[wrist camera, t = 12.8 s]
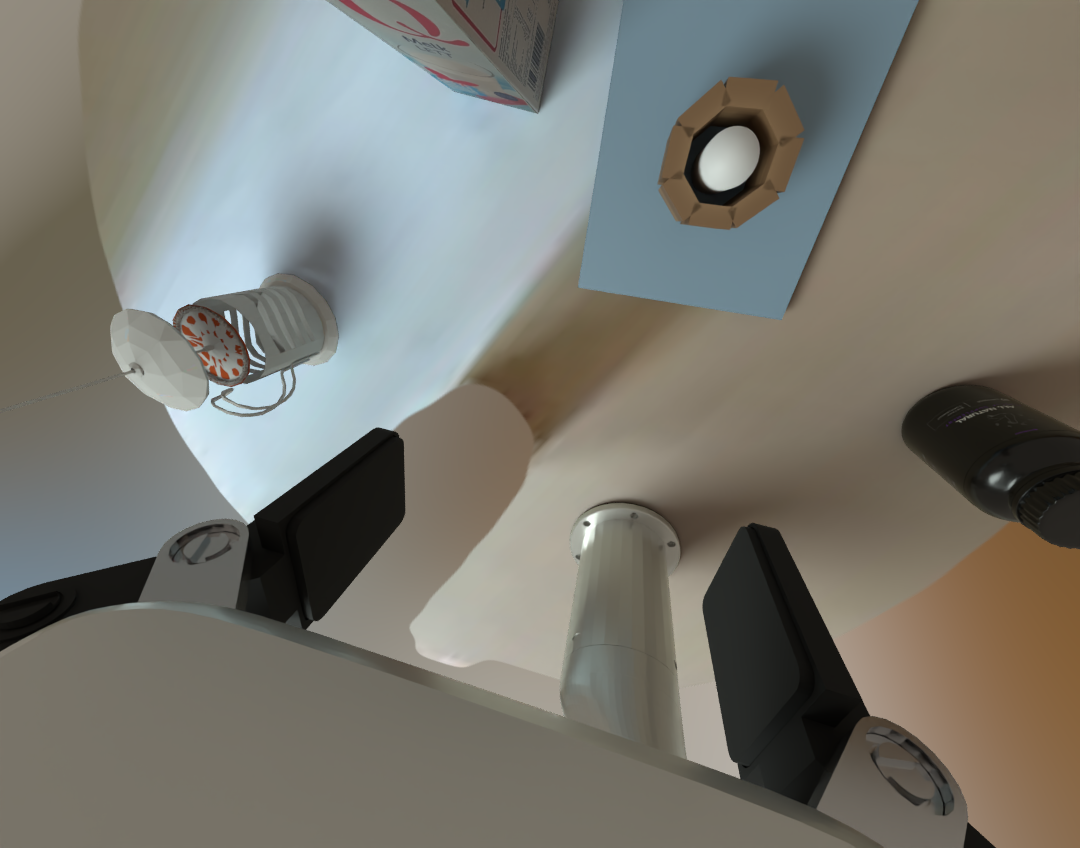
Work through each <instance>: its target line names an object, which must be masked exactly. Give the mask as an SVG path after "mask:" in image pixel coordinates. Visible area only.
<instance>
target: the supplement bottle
mask: <svg viewBox="0 0 1080 848" xmlns="http://www.w3.org/2000/svg"><path fill="white" fill-rule="evenodd" d="M902 437H903V440H904V442H905V444H906V445H907V446H908V448H909V449H910V450H911V451H913V452H914V453H915V454H916V455H917V456H918V457H919V458H920V459H921V460H923V461H924V462H925V463H926V464H927V465H928V466H929V467H931V468H932V469H933V470H934V471H935V472H936V473H937V474H939V475H940V476H941V477H942V478H943V479H944V480H946V481H947V482H948V483H949V484H950V485H951V486H952V487H954V488H955V489H956V490H957V491H958V492H959V493H960V494H962V495H963V496H964V497H965V498H966V499H967V500H968V501H970V502H971V503H972V504H973V505H974V506H976V507H977V508H978V509H980V510H981V511H983V512H985V513H987V514H988V515H991V516H993V517H996V518H999V519H1003V520H1007V521H1012V522H1020V523H1021V524H1023V525H1024V526H1026V527H1027V528H1029V529H1031V530H1032V531H1033V532H1035V533H1036V534H1037V535H1038V536H1039V537H1041V538H1042V539H1044V540H1046V541H1048V542H1049V543H1051V544H1054V545H1057V546H1059V547H1067V548H1070V549H1071V548H1077V549H1080V431H1078V430H1076V429H1074V428H1072V427H1070V426H1068V425H1066V424H1064V423H1062V422H1060V421H1058V420H1056V419H1054V418H1052V417H1050V416H1048V415H1046V414H1044V413H1042V412H1040V411H1037V410H1035V409H1033V408H1031V407H1029V406H1027V405H1025V404H1023V403H1021V402H1019V401H1017V400H1015V399H1013V398H1011V397H1009V396H1007V395H1005V394H1003V393H1001V392H998V391H996V390H994V389H991V388H988V387H984V386H978V385H961V386H954V387H949V388H945V389H942V390H939V391H937V392H935V393H932V394H930V395H928V396H927V397H925V398H923V399H922V400H921V401H919V402H918V403H917V404H916V405H914V406H913V407H912V409H911V410H910V411H909V412H908V414H907V415H906V417H905V419H904V421H903V424H902Z"/></svg>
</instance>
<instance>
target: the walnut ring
mask: <svg viewBox="0 0 1080 848" xmlns="http://www.w3.org/2000/svg"><path fill="white" fill-rule="evenodd" d="M777 83H778V80H765V79H753V78H740V77H728V79H727V80H726V82H725V83H724V84H723V82H722V80H720V81H719V82H718V83H717V84H716V85H714V86H713V87H712V88H711V89H710V90H709V91H708V92H707V93H705V94H704V95H703V96H702V97H701V98H700V99H699V100H698V101H696V102H695V103H694V104H693V105H692V106H691V107H690V108H689V109H687V110H686V111H685V112H684V113H683V114H682V115H681V116H680V117H678V119H677V121H676V124H675V125H673V128H672V130H671V133H670V135H669V138H668V140H667V144H666V148H665V153H664V157H663V161H662V166H661V170H660V175H659V179H658V183H657V184H658V185H662V186H661V187H660V188H659V190H658V191H659V193H660V195H661V196H662V198H663V200H664V202H665V203H666V205H667V207H668V208H669V210H670V212H671V214H672V215H673V217H674V219H675V221H681V222H680V224H683V225H691V226H698V227H706V228H714V229H724V230H730V229H731V228H738V227H739V226H741V225H742V224H743V223H745V222H746V221H748V220H749V219H751V218H752V217H754V216H755V215H756V214H758V213H759V212H761V211H762V210H764V209H765V208H766V207H768V206H769V205H771V204H772V203H774V202H775V201H777V200H778V199H779V196H778V194H777V193H781V192H785V190H786V187H787V184H788V181H789V179H790V176H791V173H792V171H793V168H794V165H795V163H796V160H797V157H798V154H799V152H800V149H801V146H802V144H803V141H804V138H797V137H796V136H798V135H799V134H800V133H802V132H803V131H804V128H803V125H802V123H801V121H800V119H799V117H798V114H797V112H796V110H795V108H794V105H793V103H792V101H791V99H790V97H789V94H788V92H787V90H786V88H785V85H783V86H782V87H781V88H779V89H778V90H777V91H776V92H775V90H776V86H777ZM710 126H717V127H728V128H729V127H732V126H743V127H746V128H748V129H750V130H751V131H753V133H754V134H755V135H756V137H757V139H758V141H759V146H760V154H759V159H758V163H757V165H756V167H755V169H754V171H753V172H752V174H751V175H750V176H749V178H748V179H747V180H746V183H745V186H744V189H743V190H742V191H741V192H739V193H738V194H737V195H735V196H734V197H733V198H731V199H730V200H729V201H727V202H726V203H725V204H723V205H722V206H720V205H712V204H704V203H699V201H698V200H697V198H696V196H695V194H694V192H693V190H692V189H691V187H690V185H689V183H688V181H687V180H686V178H685V176H684V174H683V173H684V170H685V166H686V162H687V158H688V154H689V150H690V146H691V142H692V141H693V140H695V139H696V138H697V137H698V136H699V135H700V134H702V133H703V132H704V131H705V130H706V129H708V128H709V127H710Z"/></svg>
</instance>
